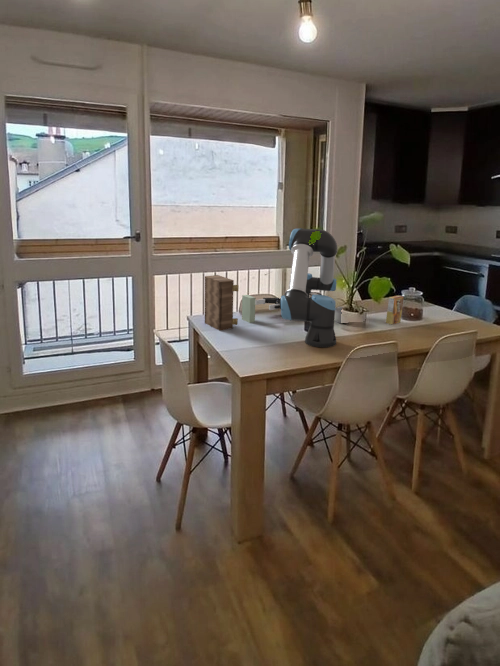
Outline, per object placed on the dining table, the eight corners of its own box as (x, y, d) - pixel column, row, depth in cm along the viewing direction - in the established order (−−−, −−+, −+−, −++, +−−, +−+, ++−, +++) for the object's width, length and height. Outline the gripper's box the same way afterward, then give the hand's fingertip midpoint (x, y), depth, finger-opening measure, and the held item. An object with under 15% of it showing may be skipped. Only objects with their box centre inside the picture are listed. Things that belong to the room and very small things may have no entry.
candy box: (394, 320, 284) (397, 295, 280) (400, 322, 281) (404, 296, 276) (385, 323, 279) (388, 297, 274) (391, 325, 276) (394, 298, 271)
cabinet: (237, 329, 259) (239, 280, 251) (221, 331, 253) (222, 282, 246) (220, 320, 273) (221, 274, 265) (204, 323, 268) (204, 276, 260)
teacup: (353, 325, 272) (355, 311, 270) (334, 324, 272) (335, 310, 270) (349, 318, 286) (350, 305, 283) (331, 318, 286) (332, 304, 283)
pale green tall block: (256, 321, 273) (257, 297, 269) (249, 322, 271) (250, 298, 267) (248, 318, 280) (248, 294, 275) (241, 319, 277) (242, 295, 273)
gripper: (304, 312, 281) (275, 316, 269) (278, 302, 300) (249, 306, 289) (305, 299, 278) (275, 303, 267) (279, 290, 298) (250, 294, 287)
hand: (262, 305), depth 278 cm, fingers open, 13 cm apart
